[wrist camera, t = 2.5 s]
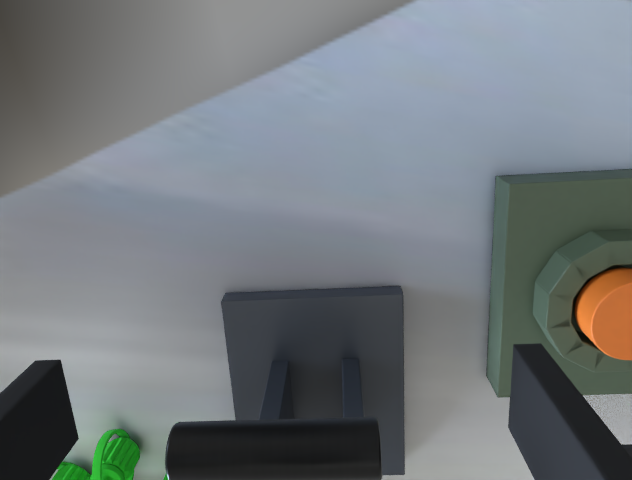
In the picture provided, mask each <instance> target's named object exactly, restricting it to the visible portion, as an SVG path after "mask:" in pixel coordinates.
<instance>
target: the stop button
mask: <svg viewBox="0 0 632 480" xmlns="http://www.w3.org/2000/svg"><path fill="white" fill-rule="evenodd" d="M575 318H576V322H577V324H578V326H579V328H580V329H581V331H582V332H583V333H584V334H585V335H586V336H587V337H588V338H589V339H590V340H591V341H592V342H593V343H594V344H595V345H596V346H597V347H598V348H599V349H600V350H601V351H602V352H604V353H605V354H607V355H608V356H611V357H613V358H616V359H621V360H632V269H631V268H616V269H611V270H608V271H605V272H603V273H600V274H599V275H597V276H595V277H594V278H592V279H591V280H590V281H589V282H588V283H587V284H586V285H585V286H584V287H583V288H582V290H581V292H580V293H579V295H578V297H577V300H576V304H575Z"/></svg>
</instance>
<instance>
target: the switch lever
mask: <svg viewBox="0 0 632 480" xmlns="http://www.w3.org/2000/svg"><path fill="white" fill-rule="evenodd" d="M165 465H166V474H167V478H168V480H381V478H382V454H381V439H380V429H379V422H378V419H377V418H376V417H344V418H308V419H271V420H235V421H198V422H178V423H176V424H175V425H174V426H173V427H172V429H171V431H170V434H169V438H168V441H167V447H166V457H165Z"/></svg>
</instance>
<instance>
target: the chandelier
mask: <svg viewBox="0 0 632 480" xmlns="http://www.w3.org/2000/svg"><path fill="white" fill-rule="evenodd" d="M114 434H117V435H118V436H119V438H116V439H114V440H112V441H111V442H109V443H108V441H109V439H110V438H111V437H112V436H113V435H114ZM107 443H108V444H107ZM106 445H107V446H106ZM117 454H118V455H117ZM125 454H126V455H125ZM139 458H140V451H139V448H138V445H137V444H136V443H135V442H134V441H133V440H131V439H130V437H129V435H128V434H127V433H126V432H125V431H124V430H122V429H114V430H109V431H107V432H106V433H105V434H104V435H103V436H102V437H101V439H100V440H99V442H98V444H97V447H96V450H95V453H94V458H93V465H92V475H90V474H89V473H88V472H87V471H86V470H84V469H83V468H81V467H80V466H78V465H75V464H72V463H67V462H61V464H60V465H59V467H58V468H57V469H59V470H58V472H57V473H56V475H55V476H54V477H53V479H52V480H133V476H134V468H135V466H136V464H137V462H138V460H139ZM164 480H168V478H167V474H166V475H165V477H164Z"/></svg>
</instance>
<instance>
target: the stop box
mask: <svg viewBox="0 0 632 480" xmlns="http://www.w3.org/2000/svg"><path fill="white" fill-rule="evenodd" d="M616 268H631V269H632V169H622V170H603V171H583V172H563V173H543V174H524V175H504V176H496V182H495V204H494V225H493V247H492V268H491V290H490V311H489V333H488V354H487V378H488V380H489V382H490V383H491V385H492V387H493V389H494V391H495V393H496V395H497V397H510V391H511V375H512V358H513V344H535V343H541V344H542V345H543V346H544V348H545V349H546V350H547V351H548V353H549V354H550V355H551V357H552V358H553V359H554V360H555V362H556V363H557V364H558V365H559V367H560V368H561V369H562V370H563V372H564V373H565V374H566V375H567V377H568V378H569V379H570V381H571V382H572V383H573V384H574V386H575V387H576V388H577V389H578V391H579V392H580V393H581V394H582V395H600V394H632V360H621V359H616V358H613V357H611V356H608V355H607V354H605V353H604V352H602V351H601V350H600V349H599V348H598V347H597V346H596V345H595V344H594V343H593V342H592V341H591V340H590V339H589V338H588V337H587V336H586V335H585V334H584V333H583V332H582V331H581V329H580V328H579V326H578V324H577V322H576V318H575V304H576V300H577V297H578V295H579V293H580V292H581V290H582V288H583V287H584V286H585V285H586V284H587V283H588V282H589V281H590V280H591V279H592V278H594V277H595V276H597V275H599V274H600V273H603V272H605V271H608V270H611V269H616Z"/></svg>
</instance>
